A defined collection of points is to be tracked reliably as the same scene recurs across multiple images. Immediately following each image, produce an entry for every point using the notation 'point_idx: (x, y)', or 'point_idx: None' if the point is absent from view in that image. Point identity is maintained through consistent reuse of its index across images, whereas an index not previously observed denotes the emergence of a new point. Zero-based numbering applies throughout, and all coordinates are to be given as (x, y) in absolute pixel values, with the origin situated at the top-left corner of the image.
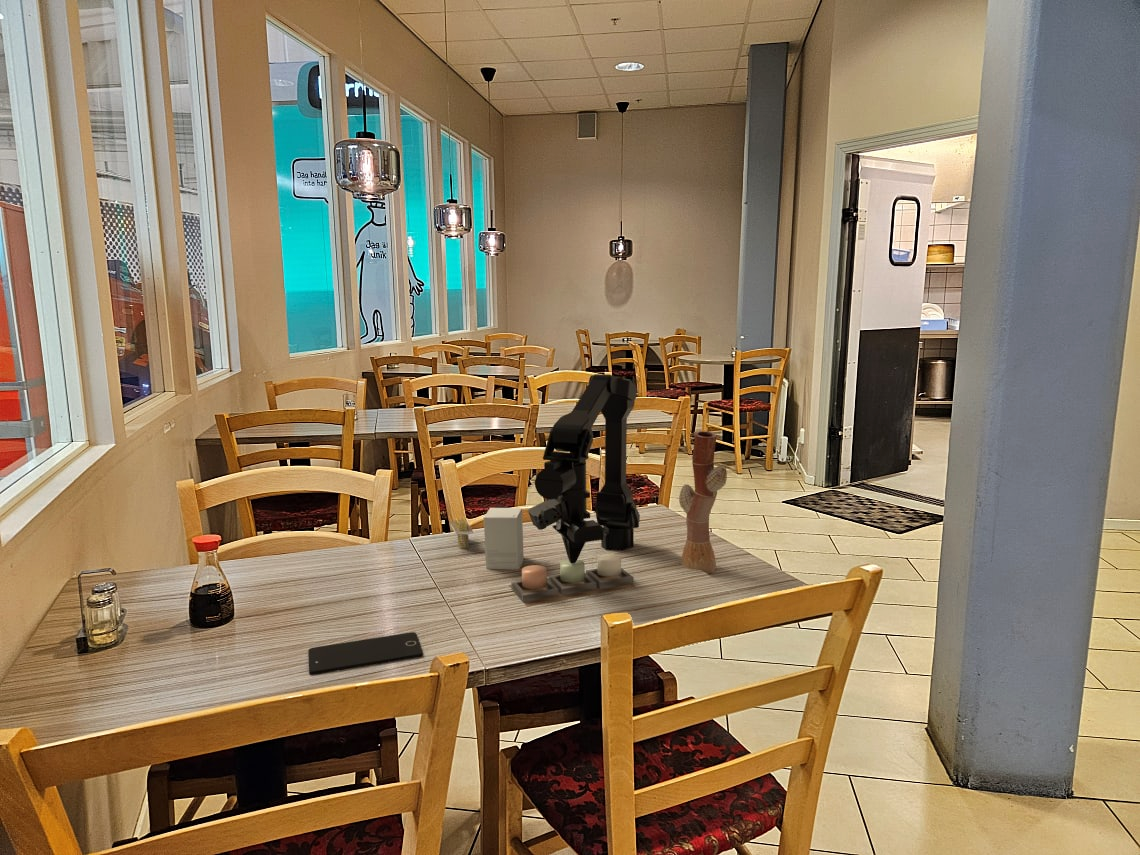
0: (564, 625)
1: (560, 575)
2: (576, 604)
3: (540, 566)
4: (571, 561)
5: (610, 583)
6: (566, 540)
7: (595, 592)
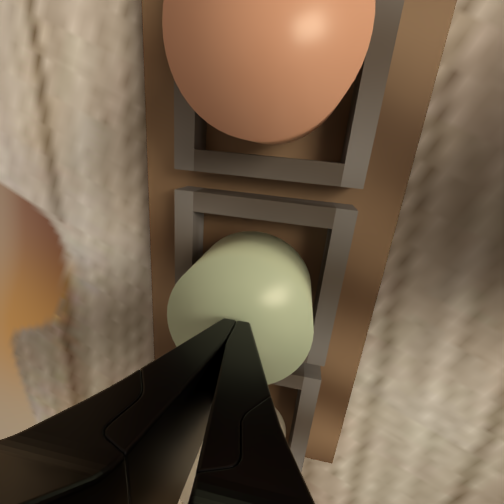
0: (6, 90)
1: (270, 240)
2: None
3: (299, 113)
4: (217, 326)
5: None
6: (119, 448)
7: (166, 307)
